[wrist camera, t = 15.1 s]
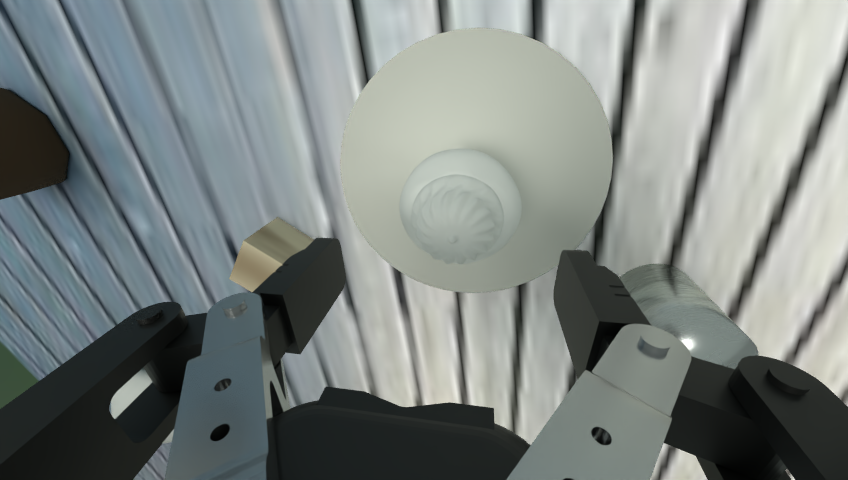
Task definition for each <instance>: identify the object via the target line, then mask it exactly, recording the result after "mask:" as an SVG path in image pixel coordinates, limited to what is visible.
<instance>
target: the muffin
mask: <svg viewBox="0 0 848 480" xmlns="http://www.w3.org/2000/svg"><path fill="white" fill-rule="evenodd" d="M399 210H400V217H401V221H402V224H403V226H404V228H405V230H406V232H407V234H408V236H409V237H410V238H411V240H412V241H413V242H414V243H415V244H416V245H417V246H418V247H419V248H420V249H422V250H423V251H424V252H426V253H427V254H429V255H431V256H432V257H433V258H434V259H436V260H442V261H444V262H445V263H446V264H451V263H455V264H460V265H462V264H466V263H472V262H476V261H480V260H482V259H485V258H487V257H489V256H491V255H493V254H494V253H496V252H498V251H499V250H500V249H501V248H503V247H504V246H505V245H506V244H507V243H508V241H509V240H510V239H511V237H512V236H513V234H514V233H515V231H516V229H517V226H518V224H519V221H520V218H521V211H522V203H521V197H520V193H519V190H518V188H517V186H516V184H515V182H514V180H513V178H512V177H511V175H510V174H509V172H508V171H507V170H506V169H505V168H504V167H503V166H502V165H501V164H500V163H499V162H498V161H497V160H495V159H494V158H492V157H491V156H489V155H487V154H485V153H483V152H480V151H476V150H472V149H449V150H444V151H440V152H438V153H435V154H433V155H431V156H429V157H428V158H426V159H425V160H423V161H422V162H421V163H420V164H419V165H418V166H417V167H416V168H415V169H414V170H413V171H412V173H411V174H410V176H409V177H408V179H407V181H406V183H405V185H404V187H403V190H402V193H401V197H400V203H399Z"/></svg>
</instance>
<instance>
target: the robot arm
mask: <svg viewBox="0 0 848 480" xmlns="http://www.w3.org/2000/svg"><path fill="white" fill-rule="evenodd" d="M345 279H346V274H345V268H344V262H343V257H342V251H341V246H340V242H339V240H338V239H335V238H316V239H315V240H314V241H313V242H312V243H311V244H310V245H309V246H307V247H306V248H305V249H304V250H301V251H299V252H298V253H296V254H294V255H292V256H290V257H289V258H288V259H287V260H286V261H285V262H284V263H283V264H282V266H280V267H279V268H278V269H277V270H275V272H273V273H272V274H271V275H270V276H269V277H268V278H267V279H266V280H265V281H264V282H263V283H262V284H260V285H259V286H258V287H257V288H256V289H255V290H254V291H253V292H252V293H249V292H247V293H239V294H235V295H231V296H229V297H226V298H224V299H222V300H220V301H219V302H217V303H216V304H215V305H213V306H212V307H211V308H210V310H209V311H208V313H202V314H195V315H188V316H185V314H184V312H183V310H182V308H181V306H180V304H178V303H175V302H163V303H158V304H154V305H151V306H148V307H146V308H143V309H141V310H139V311H137V312H135V313H134V314H132V315H130V316H129V317H128V318H126V319H125V320H123V321H122V322H121V323H119V324H118V325H116V326H115V327H114V328H112V329H111V330H110V331H108V332H107V333H105V334H104V335H103V336H101V337H100V338H98V339H97V340H96V341H94V342H93V343H92V344H90V345H89V346H87V347H86V348H85V349H83V350H82V351H80V352H79V353H78V354H76V355H75V356H73V357H72V358H71V359H69V360H68V361H67V362H65V363H64V364H62V365H61V366H60V367H58V368H57V369H55V370H54V371H53V372H51V373H50V374H48V375H47V376H46V377H44V378H43V379H42V380H40V381H39V382H38V383H36V384H35V385H33V386H32V387H30V388H29V389H28V390H26V391H25V392H24V393H22V394H21V395H20V396H18V397H17V398H15V399H14V400H12V401H11V402H10V403H8V404H7V405H5V406H4V407H3V408H1V409H0V480H133V479H134V477H135V476H136V475H137V474H138V472H139V471H140V470H141V469H142V468H143V466H144V465H145V464H146V463H147V461H148V460H149V459H150V458H151V457H152V455H153V454H154V453H155V452H156V450H157V449H158V448H159V447H160V446H161V444H162V443H163V442H164V441H165V439H166V438H167V437H168V436H169V434H170V433H171V432H172V431H173V430H174V433H173V438H172V443H171V448H170V453H169V459H168V464H167V469H166V474H165V479H164V480H650V478H651V475H652V472H653V470H654V467H655V464H656V461H657V459H658V456H659V453H660V451H661V448H662V445H663V443H666V444H668V445H671V446H673V447H675V448H678V449H680V450H683V451H685V452H688V453H690V454H693V455H695V456H696V457H697V459H698V461H699V463H700V465H701V467H702V469H703V471H704V473H705V475H706V477H707V479H708V480H791V478H790V477H789V476H788V474H787V473H786V471H785V470H786V469H788V470H789V471H790V473H791V474H792V476H793V477H794V478H795V480H848V407H847V406H846V405H845V404H844V403H843V402H842V401H841V400H840V399H839V398H838V397H837V396H836V395H835V394H834V393H833V392H832V391H831V390H830V389H829V388H827V387H826V386H825V385H824V384H823V383H822V382H820V381H819V380H817V379H816V378H815V377H813V376H811V375H810V374H808V373H806V372H805V371H803V370H801V369H799V368H797V367H795V366H793V365H790V364H788V363H785V362H783V361H780V360H777V359H773V358H769V357H764V356H747V357H744V358H742V359H741V360H740V361H739V363H738V365H737V366H736V368H735V369H732V368H729V367H726V366H722V365H719V364H715V363H712V362H708V361H705V360H702V359H698V358H695V357H693V356H691V354H690V351H689V350H688V348H687V347H686V346H685V345H684V343H683V342H681V341H680V340H679V339H678V338H676V337H675V336H673V335H672V334H670V333H668V332H666V331H664V330H662V329H660V328H657V327H654V326H651V324H650V323H649V321H648V320H647V318H646V317H645V315H644V314H643V312H642V311H641V309H640V308H639V306H638V305H637V303H636V302H635V301H634V299H633V298H632V297H631V295H630V293H629V292H628V290H627V289H626V288H625V286H624V284H623V283H622V281H621V280H620V278H619V277H618V276H617V275H616V274H615V273H613V272H612V271H610V270H609V269H608V268H606V267H605V266H597V265H596V263H595V262H594V260H593V258H592V257H591V255H590V253H589V252H588V251H580V250H563V251H562V252H561V255H560V260H559V265H558V270H557V276H556V281H555V286H554V305H555V308H556V311H557V315H558V318H559V321H560V324H561V327H562V330H563V334H564V337H565V340H566V343H567V346H568V349H569V353H570V356H571V359H572V362H573V365H574V368H575V372H576V375H577V378H578V380H577V382H576V383H575V384H574V386H573V387H572V389H571V390H570V391H569V393H568V394H567V396H566V397H565V398H564V400H563V401H562V403H561V404H560V405H559V407H558V408H557V410H556V411H555V412H554V414H553V415H552V417H551V418H550V419H549V421H548V422H547V424H546V425H545V426H544V428H543V429H542V431H541V432H540V433H539V435H538V436H537V438H536V439H535V440H534V442H533V443H532V445H529V444H528V443H527V442H526V441H525V440H524V439H522V438H521V437H519V436H518V435H516V434H515V433H513V432H512V431H510V430H508V429H506V428H504V427H502V426H500V425H497V424H495V423H494V408H488V407H480V406H472V405H465V404H457V403H441V404H433V405H424V406H415V407H401V406H398V405H395V404H393V403H391V402H388V401H386V400H383V399H381V398H379V397H376V396H374V395H371V394H369V393H367V392H364V391H356V390H348V389H340V388H333V387H325V389H324V391H323V393H322V395H321V397H320V399H319V400H318V401H313V402H308V403H305V404H302V405H299V406H296V407H293V408H291V409H290V404H289V397H288V391H287V385H286V378H285V372H284V365H283V362H282V359H281V358H282V357H283V355H284V354H285V352H286V353H295V354H301V352H302V351H303V349H304V348H305V346H306V345H307V343H308V342H309V340H310V339H311V337H312V336H313V334H314V333H315V331H316V330H317V328H318V326H319V325H320V323H321V322H322V320H323V319H324V317H325V316H326V314H327V313H328V311H329V310H330V308H331V307H332V305H333V304H334V302H335V301H336V299H337V298H338V296H339V294H340V293H341V291H342V290H343V288H344V285H345ZM142 368H144V369H145V371H146V373H147V374H148V376H149V377H150V379H151V380H152V383H151V384H150V385H149V386H148V387H147V388H146V389H145V390H144V391H143V392H142V393H141V394H140V395H139V396H138V397H137V398H136V399H135V400H134V401H133V402H132V403H131V404H130V405H129V406H128V407H127V408H126V409H125V410H124V411H123V412H122V413H121V414H120V415H119V416H118V417H117V418H116V419H114V418H113V417H112V415H111V414H110V411H109V405H110V402H111V400H112V398H113V396H114V395H115V393H116V392H117V391H118V390H119V389H120V388H121V387H122V386H123V385H124V384H126V383H127V382H128V381H129V380H130V379H131V378H132V377H133V376H134V375H135V374H137V373H138V372H139V371H140V370H141V369H142Z"/></svg>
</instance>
